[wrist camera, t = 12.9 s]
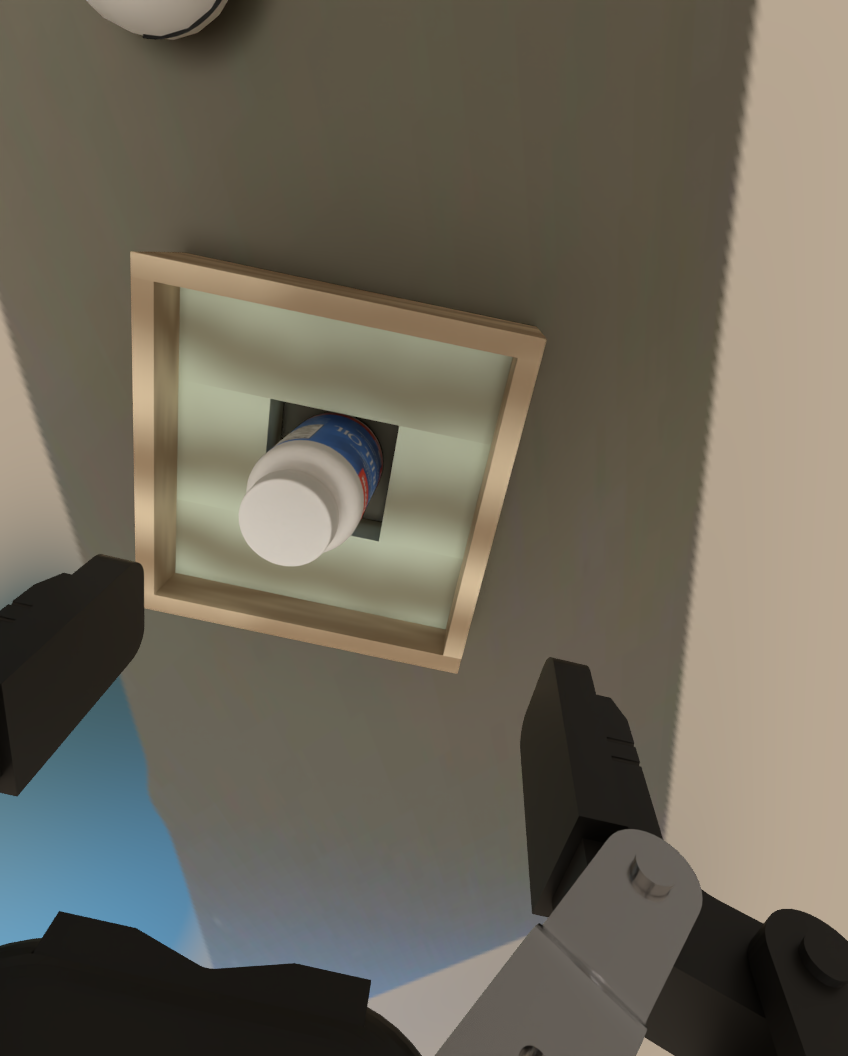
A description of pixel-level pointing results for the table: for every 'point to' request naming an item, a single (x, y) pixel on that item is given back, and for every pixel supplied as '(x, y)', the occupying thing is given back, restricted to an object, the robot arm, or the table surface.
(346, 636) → the bore box
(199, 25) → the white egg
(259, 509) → the pill bottle
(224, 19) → the table surface
